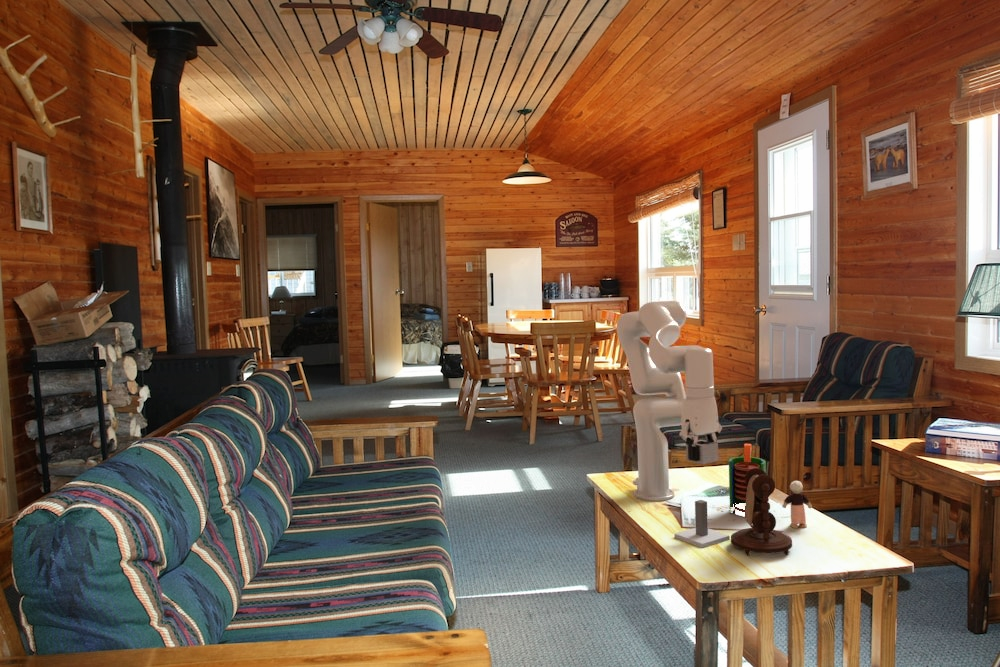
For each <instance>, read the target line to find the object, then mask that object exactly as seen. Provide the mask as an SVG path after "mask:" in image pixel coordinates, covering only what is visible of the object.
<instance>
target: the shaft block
mask: <svg viewBox="0 0 1000 667" xmlns="http://www.w3.org/2000/svg"><path fill="white" fill-rule="evenodd" d="M694 514H695V520H694V521H695V527H692V528H689V529H687V530H683V531H679V532H675V533H674V538H676V539H678V540H682V541H683V542H687V543H689V544H692V545H694V546H698V547H700V548H706V547H709V546H712V545H716V544H720V543H723V542H725V541H729V540H731V535H729V534H726V533H724V532H720V531H717V530H714V529H713V528H712V529H710V528H709V527H708V526H709V525H708V501H706V500H703V499H699V500H695V501H694Z"/></svg>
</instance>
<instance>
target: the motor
mask: <svg viewBox="0 0 1000 667" xmlns="http://www.w3.org/2000/svg"><path fill="white" fill-rule="evenodd" d="M751 454H752V443H744V445H743V456H736V457H731V458H730V459H728V479H729V480H728V485H729V493H728V494H729V508H730V507H733V504H734V507H735V505H736V504H739V503H746V494H747V487H748V486H747V484H746V482H745V475H746V473H747V472H748V471H749V470H750V469H753V468H760V469H762V470H763V471H764V472H765V473H766V474H767V470H766V469H767V468H766V467H767V466H766V464H767V462H766V460H765V459H763V458H759V457H755V456H752V455H751ZM735 503H736V504H735ZM757 503H758V502H757ZM735 509H737V510H739V511H742V512H745V510H743V509H739V508H737V507H735Z"/></svg>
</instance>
